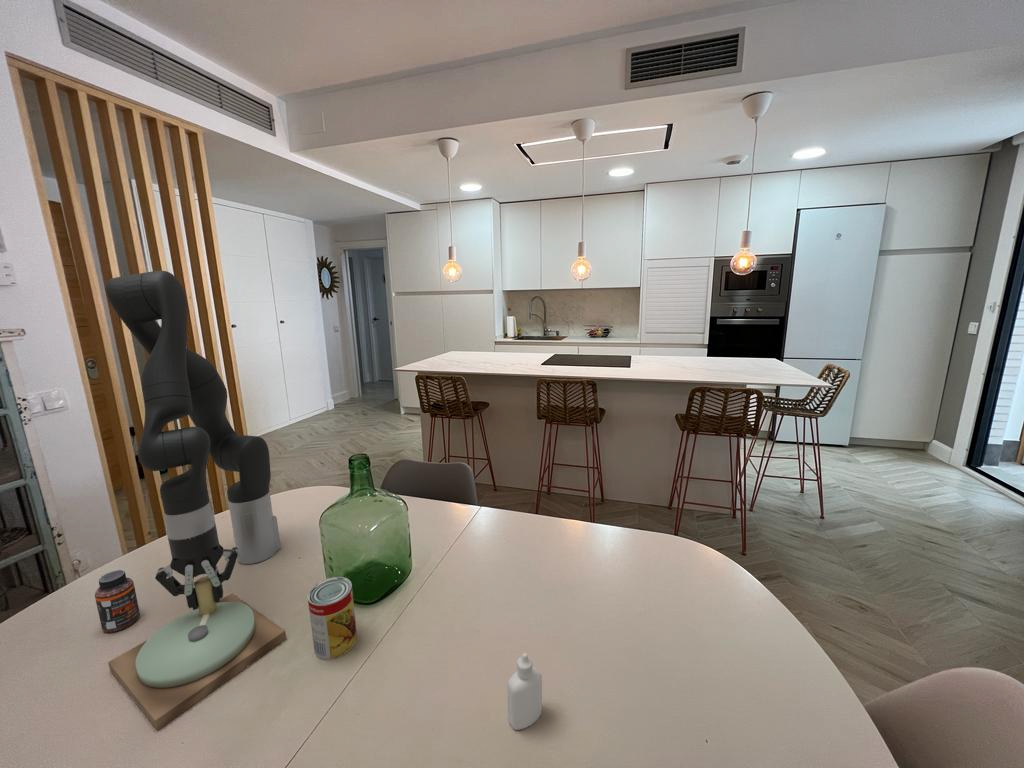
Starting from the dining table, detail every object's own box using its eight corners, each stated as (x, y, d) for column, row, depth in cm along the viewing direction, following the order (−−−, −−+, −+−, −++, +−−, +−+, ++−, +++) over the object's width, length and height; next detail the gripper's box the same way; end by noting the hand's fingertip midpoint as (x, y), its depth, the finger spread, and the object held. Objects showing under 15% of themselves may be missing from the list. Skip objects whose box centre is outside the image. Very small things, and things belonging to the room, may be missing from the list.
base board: (233, 600, 94) (231, 592, 93) (286, 638, 83) (285, 629, 83) (110, 671, 76) (107, 660, 76) (157, 730, 65) (154, 719, 65)
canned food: (365, 633, 84) (360, 581, 82) (337, 664, 77) (331, 609, 75) (334, 623, 87) (328, 573, 84) (304, 653, 80) (297, 599, 77)
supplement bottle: (117, 636, 84) (105, 587, 82) (94, 631, 85) (82, 583, 83) (148, 614, 90) (138, 568, 88) (126, 610, 91) (116, 565, 89)
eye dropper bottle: (507, 704, 69) (506, 643, 67) (540, 703, 69) (541, 642, 67) (508, 731, 65) (507, 667, 62) (543, 730, 65) (544, 666, 63)
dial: (245, 665, 74) (238, 622, 73) (117, 703, 68) (106, 657, 66) (261, 600, 91) (256, 564, 89) (159, 625, 84) (151, 586, 82)
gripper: (235, 509, 88) (247, 580, 91) (149, 529, 81) (166, 606, 84) (233, 525, 81) (247, 601, 85) (140, 548, 74) (159, 630, 78)
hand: (206, 603), depth 85 cm, fingers closed on dial, 3 cm apart
